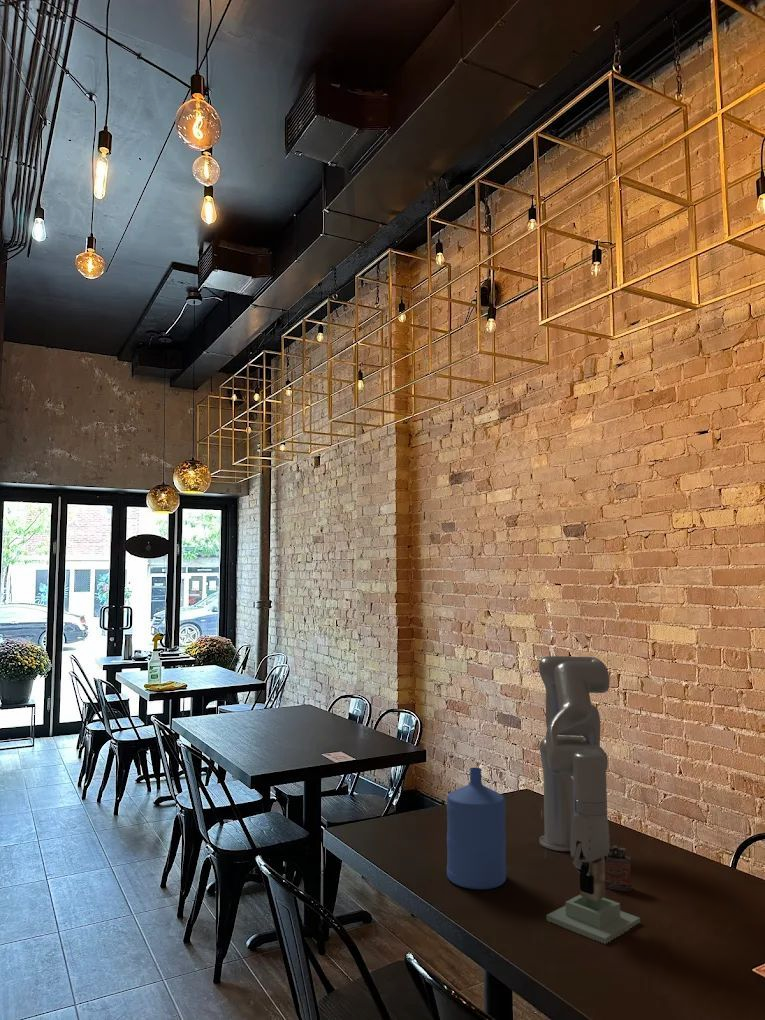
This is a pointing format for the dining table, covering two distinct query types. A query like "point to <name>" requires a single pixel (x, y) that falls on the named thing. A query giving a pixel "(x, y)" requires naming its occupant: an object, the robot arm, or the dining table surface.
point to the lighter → (618, 870)
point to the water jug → (476, 835)
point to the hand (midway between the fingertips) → (592, 888)
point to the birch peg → (596, 880)
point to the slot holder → (593, 918)
